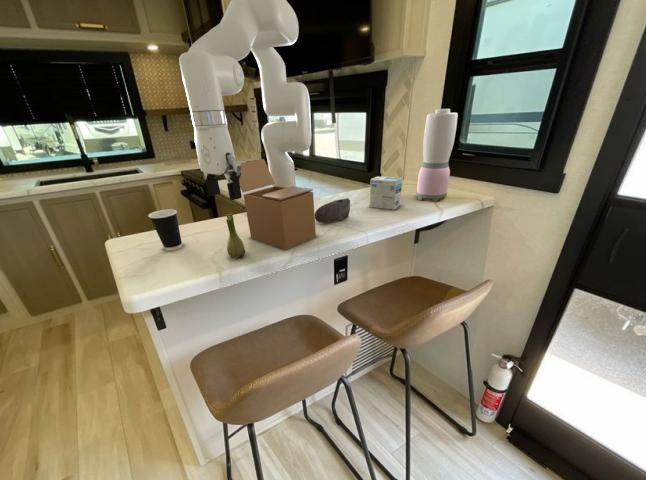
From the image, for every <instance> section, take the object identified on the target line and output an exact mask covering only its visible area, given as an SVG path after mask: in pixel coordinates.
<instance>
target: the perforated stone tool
mask: <svg viewBox="0 0 646 480" xmlns="http://www.w3.org/2000/svg"><path fill="white" fill-rule="evenodd" d="M350 212H351V199H349V198H348V197H346V198H340V199H337V200H333V201H330V202H327V203H325V204H323V205H321V206H319V207H318V208H317V209H316V210H315V211H314V216H315V222H318V223H321V224H326V223H332V222H338V221H339V222H340V221H341V220H344V219H347V218H349V215H350Z"/></svg>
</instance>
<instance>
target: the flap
mask: <svg viewBox="0 0 646 480" xmlns="http://www.w3.org/2000/svg"><path fill="white" fill-rule="evenodd" d="M240 163H241V176H240V182H239V184H240V189H241V193H246V192H249V191H253V190H256V189H260V188H265V187H269V186H271V185H273V184H275V182H274V180H273V178H272V175H271V173H270V171H269V167H268V164H267V162H266V161H265V159H264V158H261V159H256V160H249V161H244V162H240Z"/></svg>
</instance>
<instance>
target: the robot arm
mask: <svg viewBox="0 0 646 480" xmlns="http://www.w3.org/2000/svg"><path fill="white" fill-rule="evenodd" d="M299 27H300V26H299V20H298V16H297V14H296V12H295V10H294V9H293V7H292V6H291V4H290V3H289V2H288V1H287V0H230V1H229V4H228V5H227V8H226V10H225V12H224V15H222V18H221V20H220V23H218V24H217V25H216V26H214V27H213V28H211V29H210V30H209V31H207V32H206V33H204V34H203V35H202V36H200V37H199V38H198V39H197V40H196V41H195V42H193V44H191V46H190V47H189V48H188V50H187V52H183V53H181V54H180V55H179V58H178V61H179V62H178V63H179V68H180V72H181V79H182V83H183V86H184V91H185V94H186V98H187V103H188V107H189V111H190V116H191V121H192V125H193V135H194V143H195V150H196V155H197V162H198V163H197V164H198V166H199V169H200V171H201V173H202V174H203V179H204V180H205V184H206V189H207V193H208V196H211V197H213V196H217V195H220V194H221V189H220V184H219V179H218V177H216V176H221V175H223V176H224V177H225V179H226V181H227V183H226V185H227V192H228V196H229V200H230V201H235V200H236V201H237V200H239V199H242V198H243V195H242V190H241V188H240V184H239V182H240V176H241V163H242V162H240V161H239V160H238V159H237V158H236V154H235V150H234V146H233V142H232V139H231V134H230V132H229V128H228V122H227V121H228V120H227V117H226V116H227V115H226V111H225V105H224V98H223V96H232V95H236V94H238V93H240V92H241V91H242V89H243V88H244V84H245V74H244V71H243V67H242V66H241V64H240V63H239V61H241V60H243V59H245V58H246V57H247V56H248V55H249V54H250V52H251V53H252V54H253V56H254V58H255V60H256V63H257V66H258V69H259V77H260V87H261V98H262V105H263V106H262V107H263V110H264V112H265V114H266V115H267V116H268V117H272V118H284V117H294V118H295V120H281V121H270V122H268V123H266V124H264V125H263V127H262V129H261V133H260V134H261V141H262V144H263V148H264V151H265V155H266V160H267V167H268V169H269V171H270V173H271V175H272V178H273V180H274V182H275V184H273V185H270V187H273V186H279V187H285V188H288V187H292V186H295V187H297V184H296V173H295V163H294V161H293V159H292V157H291V156H290V155H289V154H288V153H291V152H292V153H293V152H306V151H308V150H309V149H310V147H311V144H312V124H311V123H312V122H311V121H312V119H311V101H310V94H309V90H308V87H307V86H306V85H305V84H304V83H303V82H301V81H300V82H299V81H292V82H288V80H287V72H286V71H287V70H286V64H285V62H284V60H283V58H282V56H281V55H280V54H279V53H278V52H277V50H276V49H275V48H276V47H285V46H291V45H294V44H295V43H296V42H297V40H298V38H299V33H300V32H299Z"/></svg>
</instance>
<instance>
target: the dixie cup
mask: <svg viewBox="0 0 646 480" xmlns="http://www.w3.org/2000/svg"><path fill="white" fill-rule="evenodd" d="M177 213H178V211H177V210H176V209H171V208H168V209H160V210H156V211H153V212H150V213H149V214H148V215H147V217H148V218H149V219H150V221H151V223H152V225H153V228H154V229H155V231H156V233H157V236H158V237H159V240H160V243H161V244H162V246H163V248H164V249H165V250H166V251H176V250H179V249H181V248H182V246H183V245H182V243H183V242H182V237H181V233H180V232H181V231H180V225H179V220H178V214H177Z"/></svg>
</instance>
